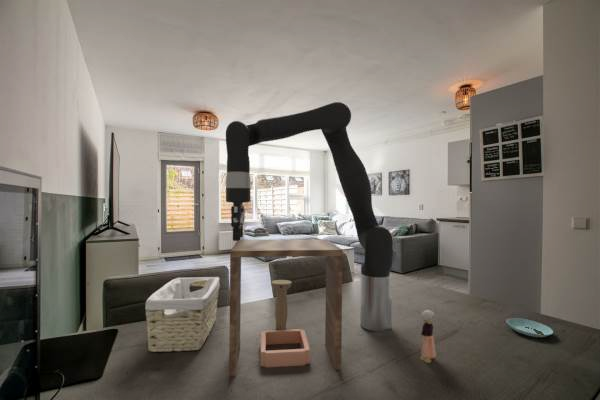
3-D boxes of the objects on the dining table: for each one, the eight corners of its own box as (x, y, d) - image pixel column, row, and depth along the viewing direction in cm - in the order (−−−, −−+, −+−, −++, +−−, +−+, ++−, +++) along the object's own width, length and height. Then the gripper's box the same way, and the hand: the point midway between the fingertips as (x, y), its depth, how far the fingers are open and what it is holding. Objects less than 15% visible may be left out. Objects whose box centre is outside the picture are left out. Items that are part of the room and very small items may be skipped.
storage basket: (173, 318, 100) (173, 276, 100) (221, 317, 101) (221, 275, 101) (141, 356, 76) (142, 300, 76) (204, 354, 77) (205, 299, 77)
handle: (290, 331, 90) (291, 284, 90) (270, 331, 90) (270, 284, 90) (291, 325, 95) (291, 280, 95) (272, 324, 95) (272, 279, 95)
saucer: (553, 332, 92) (553, 325, 92) (552, 346, 84) (552, 338, 84) (508, 321, 101) (508, 315, 100) (503, 332, 92) (503, 325, 92)
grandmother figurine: (433, 366, 72) (434, 316, 72) (417, 362, 74) (418, 313, 74) (437, 353, 79) (438, 307, 79) (422, 349, 81) (423, 304, 81)
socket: (303, 340, 85) (303, 328, 85) (310, 364, 72) (310, 350, 72) (261, 342, 83) (261, 330, 83) (260, 367, 71) (260, 353, 71)
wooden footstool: (326, 335, 88) (327, 239, 88) (341, 369, 71) (342, 249, 70) (236, 339, 85) (237, 240, 85) (229, 376, 67) (230, 250, 67)
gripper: (248, 186, 83) (248, 242, 83) (251, 188, 98) (251, 235, 97) (222, 186, 83) (222, 242, 82) (229, 188, 97) (228, 236, 97)
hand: (238, 238), depth 90 cm, fingers open, 8 cm apart
